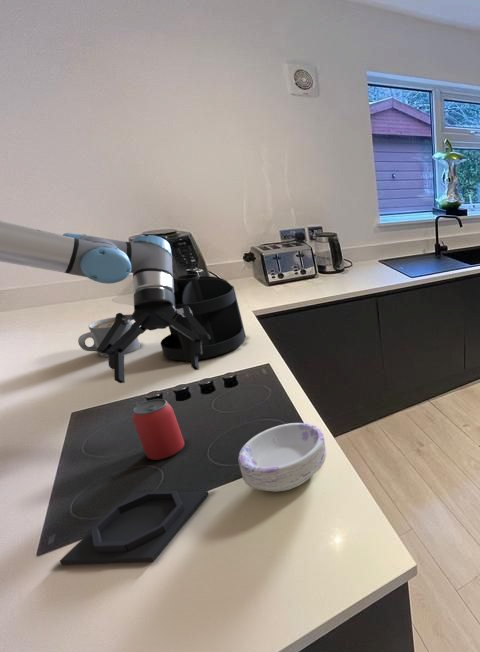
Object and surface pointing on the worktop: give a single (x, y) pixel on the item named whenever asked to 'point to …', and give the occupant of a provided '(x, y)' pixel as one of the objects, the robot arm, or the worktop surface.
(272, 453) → the white round bowl
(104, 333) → the coffee mug
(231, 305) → the container
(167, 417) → the beer can
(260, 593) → the worktop surface
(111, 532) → the dock pad
